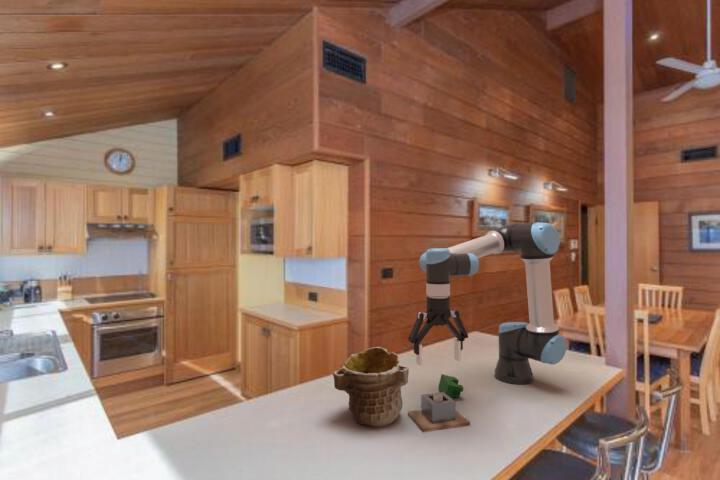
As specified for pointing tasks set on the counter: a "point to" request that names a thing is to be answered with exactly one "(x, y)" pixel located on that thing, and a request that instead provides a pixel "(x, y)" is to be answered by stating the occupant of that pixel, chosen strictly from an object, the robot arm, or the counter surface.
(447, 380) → the clamp
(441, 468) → the counter surface
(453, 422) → the post board
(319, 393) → the counter surface
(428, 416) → the collar
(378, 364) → the ceramic vessel
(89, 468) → the counter surface
